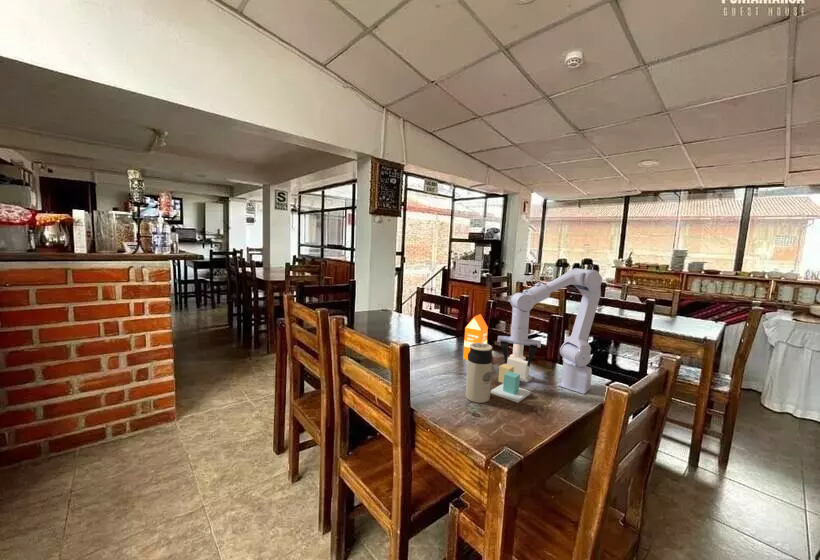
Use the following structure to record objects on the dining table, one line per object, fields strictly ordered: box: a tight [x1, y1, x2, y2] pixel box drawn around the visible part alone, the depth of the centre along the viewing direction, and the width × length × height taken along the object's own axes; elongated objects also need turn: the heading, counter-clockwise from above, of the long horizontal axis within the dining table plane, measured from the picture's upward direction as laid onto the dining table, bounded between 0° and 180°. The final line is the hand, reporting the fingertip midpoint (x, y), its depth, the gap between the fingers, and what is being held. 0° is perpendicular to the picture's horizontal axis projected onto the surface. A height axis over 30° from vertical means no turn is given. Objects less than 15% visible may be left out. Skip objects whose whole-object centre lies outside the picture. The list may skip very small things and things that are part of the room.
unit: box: [506, 356, 534, 383], centre depth 129 cm, size 10×5×7 cm, turn 46°
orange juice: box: [462, 313, 489, 361], centre depth 147 cm, size 8×9×20 cm
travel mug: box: [465, 343, 493, 404], centre depth 108 cm, size 8×8×18 cm
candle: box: [509, 344, 527, 361], centre depth 150 cm, size 7×7×25 cm
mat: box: [490, 383, 532, 404], centre depth 114 cm, size 10×10×1 cm
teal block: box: [502, 371, 521, 395], centre depth 114 cm, size 4×4×6 cm
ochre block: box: [497, 363, 514, 384], centre depth 124 cm, size 4×4×6 cm
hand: (517, 363), depth 117 cm, fingers open, 7 cm apart
